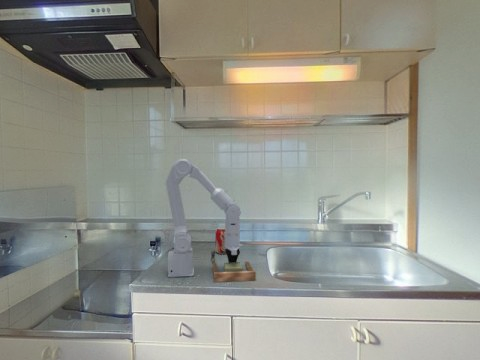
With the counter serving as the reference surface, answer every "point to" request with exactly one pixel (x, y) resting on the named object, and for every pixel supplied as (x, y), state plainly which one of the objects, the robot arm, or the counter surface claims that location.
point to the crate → (232, 267)
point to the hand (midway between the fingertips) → (232, 267)
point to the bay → (234, 274)
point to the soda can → (220, 240)
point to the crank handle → (213, 256)
